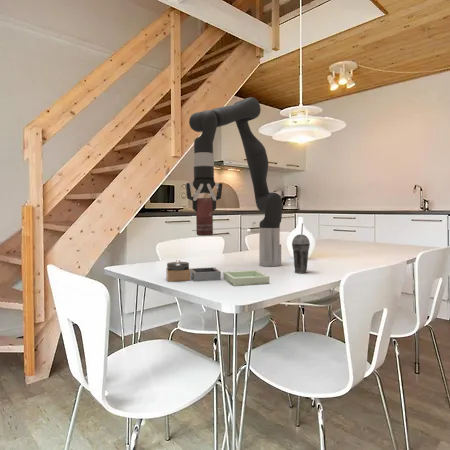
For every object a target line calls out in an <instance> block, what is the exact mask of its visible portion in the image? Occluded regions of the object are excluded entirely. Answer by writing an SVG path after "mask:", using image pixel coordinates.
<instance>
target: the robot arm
mask: <svg viewBox="0 0 450 450" xmlns="http://www.w3.org/2000/svg"><path fill="white" fill-rule="evenodd" d="M261 110H262V109H261V105H260V102H259V100H257V98H255V97H247V98H243V99H242V100H241V99H240V100H239V101H236V102H234V104H231V105H225V106H221V107H216V108H212V109H206V110H202V111H199V112H198V111H196V112H195V113H193V114H191V115H190V117H189V119H188V124H189V127H190V129H191V130H193V131H194V132H197V133H201V134H200V135H199V136H198V137H195V139H194V143H193V181H192V182H187V183H185V193H186V198H187V200H190V201H191V202H192V203H191V204H192V205H191V208H192V210H193V212H196V211H197V201H196V200H197V198H199V197H198V196H199V195H200V194H208V195H209V198H212V201H213V212H215V211H216V210H217V202H218V200H220V199H222V193H223V192H222V191H223V183H222V182H221V183H220V182H219V183H217V182H216V181H215V167H214V166H215V160H214V159H215V158H214V140H215V136H216V132H217V128H219V127H223V126H226V125H229V124H231V123H234V122H235V124H236V127H237V130H238V133H239V137H240V139H241V142H242V145H243V146H242V147H243V150H244V154H245V158H246V162H247V166H248V170H249V173H250V178H251V182H252V187H253V192H254V199H255V205H256V209H257V210H258V211H259V212H261V213H264V217H263V219H261V220H260V221H259V227H258V228H259V230H258V231H259V257H258V258H259V260H258V261H259V266H261V267H278V266H282V244H280V243H281V242H280V241H281V240H280V239H281V238H280V237H281V235H280V234H281V233H280V229H281V228H280V226H281V222H282V215H283V200H282V197H281V195H280V194H279V193H277V192H270V191H269V187H268V185H267V183H268V182H267V176H268V170H269V159H268V154H267V151H266V148H265V145H263V143H262V142H261V141H260V139H258V138H257V137H256V136H255V135H254V134H253V132H252V130H251V128H250V124H249V122H250V121H252V120H255V119H256V118H258V117H259V116H260V115H261ZM192 188H194V189H195V190H194V193H193V196H192V191H191V189H192ZM214 188H216V195H215V193H214V190H213V189H214Z"/></svg>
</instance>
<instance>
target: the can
mask: <svg viewBox="0 0 450 450" xmlns="http://www.w3.org/2000/svg"><path fill="white" fill-rule="evenodd" d="M196 201H197V211H195V213H196V214H195V215H196V216H195V217H196V222H195V223H196V227H195V228H196V235H197V236H199V237H201V236H202V237H207V236H213V234H214V224H213V223H214V220H213V219H214V213H213V212H214V211H213V201H212V198H211V197H197V199H196Z"/></svg>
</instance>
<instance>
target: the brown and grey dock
mask: <svg viewBox="0 0 450 450" xmlns="http://www.w3.org/2000/svg"><path fill="white" fill-rule="evenodd" d="M165 272H166V274H165V275H166V280H167V282H170V283H171V282H187V281H191V280H192V281H193V282H204V281H205V282H207V281H221V279H222V273H221V272H222V271H220V270H219V269H217V268H216V267H213V266H212V267H196V268H190V262H188V261H181V260H175V261H171V262H167V263H166V268H165Z"/></svg>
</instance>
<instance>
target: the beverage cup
mask: <svg viewBox="0 0 450 450" xmlns="http://www.w3.org/2000/svg"><path fill="white" fill-rule="evenodd" d="M303 227H304V223H301V229H300V232H301V233H300V234H296V235H295V236H294V237H293V239H292V241H291V245H292V246H291V247H292V252H293V253H292V254H293V265H294V272H295V274H296V273H297V274H307V269H308V262H309V261H308V260H309V250H310V247H311V246H310V245H311V243H310V239H309V238H308V237H307V236H306V235H305V234H303V230H304V228H303Z"/></svg>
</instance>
